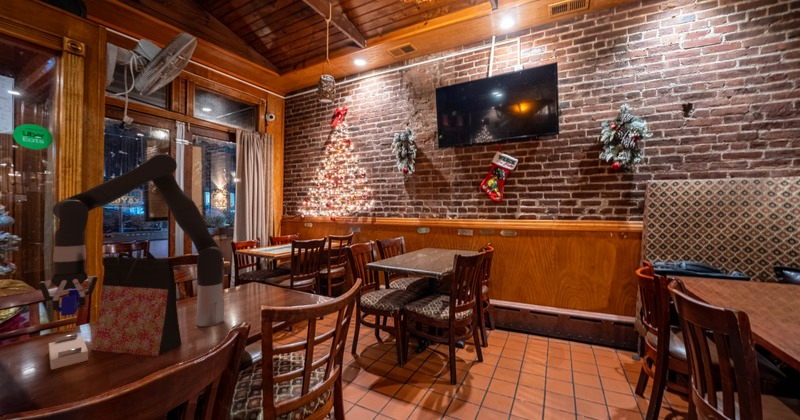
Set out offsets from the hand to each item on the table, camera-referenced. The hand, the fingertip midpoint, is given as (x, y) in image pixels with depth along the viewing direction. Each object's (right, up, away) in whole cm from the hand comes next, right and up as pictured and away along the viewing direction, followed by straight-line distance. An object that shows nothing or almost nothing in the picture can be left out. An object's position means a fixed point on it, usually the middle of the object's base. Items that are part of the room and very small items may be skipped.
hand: (69, 309), depth 105 cm
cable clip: (0, -1, 0) cm, 1 cm away
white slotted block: (+1, -15, -1) cm, 15 cm away
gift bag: (+19, -16, +6) cm, 26 cm away
